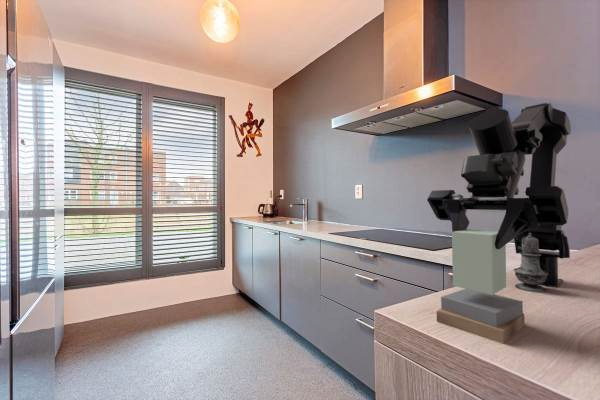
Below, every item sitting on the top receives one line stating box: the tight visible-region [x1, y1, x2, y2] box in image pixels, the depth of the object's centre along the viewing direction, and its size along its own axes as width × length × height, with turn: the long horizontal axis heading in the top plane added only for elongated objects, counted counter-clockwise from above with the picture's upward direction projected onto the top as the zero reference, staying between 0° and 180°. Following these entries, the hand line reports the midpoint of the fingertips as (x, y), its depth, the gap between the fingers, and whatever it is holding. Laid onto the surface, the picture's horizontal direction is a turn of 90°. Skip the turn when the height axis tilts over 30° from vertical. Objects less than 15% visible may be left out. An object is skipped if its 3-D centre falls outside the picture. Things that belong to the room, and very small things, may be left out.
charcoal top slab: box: [440, 288, 524, 328], centre depth 45 cm, size 8×8×2 cm
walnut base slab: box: [436, 308, 526, 345], centre depth 44 cm, size 9×9×2 cm
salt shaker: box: [513, 232, 548, 293], centre depth 61 cm, size 6×6×12 cm
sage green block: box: [451, 228, 507, 295], centre depth 45 cm, size 6×6×8 cm
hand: (474, 245), depth 44 cm, fingers closed on sage green block, 5 cm apart
